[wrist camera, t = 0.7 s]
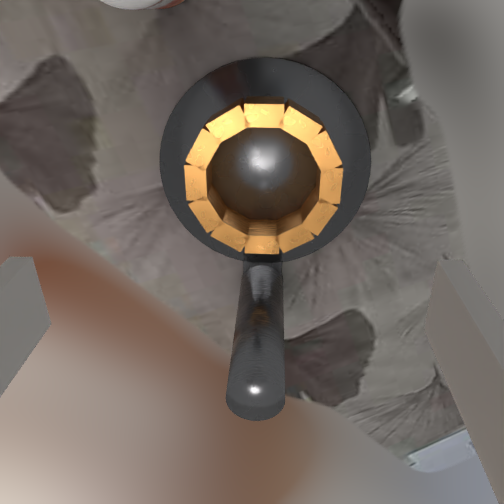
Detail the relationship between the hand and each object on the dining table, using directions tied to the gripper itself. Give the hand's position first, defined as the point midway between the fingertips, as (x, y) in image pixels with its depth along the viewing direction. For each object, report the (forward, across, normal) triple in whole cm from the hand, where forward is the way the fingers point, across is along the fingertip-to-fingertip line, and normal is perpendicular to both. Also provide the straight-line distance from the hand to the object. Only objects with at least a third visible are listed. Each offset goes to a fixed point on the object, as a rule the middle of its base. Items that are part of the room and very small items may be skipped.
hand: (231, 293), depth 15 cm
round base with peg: (+22, 0, -5) cm, 22 cm away
